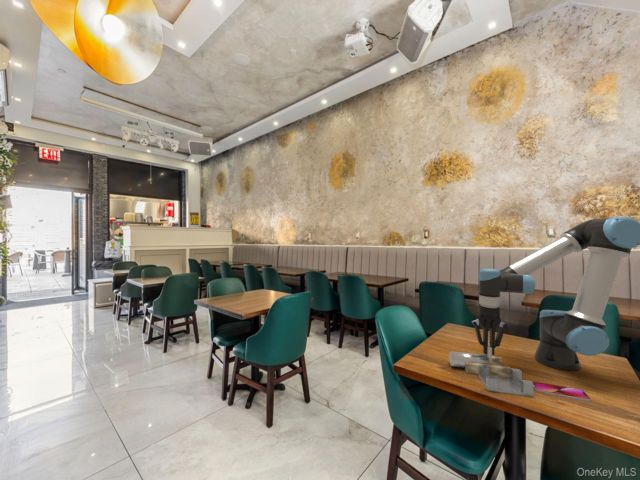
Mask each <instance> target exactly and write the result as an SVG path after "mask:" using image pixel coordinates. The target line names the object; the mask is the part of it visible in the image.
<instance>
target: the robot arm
mask: <svg viewBox="0 0 640 480" xmlns="http://www.w3.org/2000/svg"><path fill="white" fill-rule="evenodd" d="M638 246H640V221H639V220H637V219H635V218H632V217H629V216H610V217H603V218H593V219H589V220H586V221H583V222H581V223H579V224H577V225H576V226H574V227H571V228H570V229H568V230H566V231H564V232H562V233H561V234H560V235H559V238H557V239H555V240H553V241H552V242H550V243H548V244H546V245H544V246H542V247H541V248H539V249H537V250H535V251H533V252H532V253H530V254H528V255H526V256H524V257H522V258H520V259H519V260H517V261H515V262H513V263H511V264H510V265H508V266H506V267H503V268H502V269H497V268H482V269H479V273H478V274H479V277H478V282H479V283H478V287H479V289H478V290H479V293H478V304H479V306H478V316H477V319H475V320H474V319H473V320H471V323H472V325H473V326H474V330H475V334H476V338H477V342H478V344H479V345H481V346H483V347H482V352H483V354H484V355H487V356H488V358H489V363H491V364H492V356H495V349H496V347H500V346H501V342H502V339H503V336H504V334H505V330H506V329H507V327H508V324H507V323H505V322H504V321H502V319H501V317H500V316H501V308H500V306H501V293H511V294H522V295H525V294H532V293H534V291H535V290H536V281H535V279H534V277H533V276H532V275H533V274H535V273H536V272H538V271H540V270H543V269H544V268H546V267H547V266H549V265H552V264H553V263H555V262H557V261H559V260H561V259H562V258H564V257H567V256H569V255H570V254H572V253H579V252H582V251H584V250H586V249H588V252H590V255H589V257H588V259H587V260H588V261H587V263H586V267H585V269H584V273H583V276H582V278H581V282H580V285H579V288H578V291H577V294H576V297H575V300H574V302H573V305H572V309H570V310H568V311H567V310H565V311H564V310H555V309H542V310H541V311H540V312H539V317H538V318H539V344H537V345H538V346H537V348H536V350H535V352H534V359H535V361H537V362H538V363H540V364H543V365H545V366H547V367H550V368H553V369H557V370H564V371H579V370H580V368H581V361H580V358H579V357H578V355H577V354H580V355H583V356H586V357H587V356H590V357H592V356H593V357H594V356H596V355H597V356H598V355H600V354H603V353H604V352H605V351H606V350H607V348H608V347H609V345H610V338H609V336H608V334H607V333H606V332H605V328H606V326H607V324H606V323H605V321H604V320H603V317H604V313H605V311H606V307H607V304H608V302H609V299H610V296H611V293H612V290H613V286H614V285H615V284H614V283H615V281H616V278H617V275H618V272H619V270H620V267H621V266H620V265H621V262H622V260H623V259H624V258H627V257H629V256H630V255H631V252H632V249H633V248H636V247H638ZM479 325H481V326H482V334H481V329H480V327H479ZM498 326H499V327H498ZM496 328H498V330H497V333H496Z"/></svg>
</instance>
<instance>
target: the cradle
mask: <svg viewBox="0 0 640 480" xmlns="http://www.w3.org/2000/svg"><path fill="white" fill-rule="evenodd" d="M522 373H523V372H522V370H521V369H519V368H511V367H510V377H504V376H495V375H489V367H488V366H485V365H479V374H478V377H479V378H480V380H481V382H482V383H483V385H484V387H485V388H486V390H487V391H488V392H494V393H504V394H508V395H511V394H512V395H518V396H523V397H524V396H525V397H532V398H533V397H534V386H533V383H532V381H531V380H528V379H527V380H526V379H523V378H522V376H523V375H522Z"/></svg>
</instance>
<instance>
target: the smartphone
mask: <svg viewBox="0 0 640 480" xmlns="http://www.w3.org/2000/svg"><path fill="white" fill-rule="evenodd" d="M531 382H532V383H533V389H534V390H535V391H537V393H543V394H547V395H554V396H559V397H564V398H569V399H574V400H579V401H584V402H591V397H590V396H589V395H588V394H587V393H586V392H585V391H584V390H583V389H580V388H575V387H570V386H566V385H565V386H563V385H558V384H552V383H546V382H539V381H531Z"/></svg>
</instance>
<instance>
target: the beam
mask: <svg viewBox="0 0 640 480" xmlns="http://www.w3.org/2000/svg"><path fill="white" fill-rule="evenodd" d="M479 365H485V366H488V367H489V375H495V376H504V377H510V368H511V367H510V366H504V365H503V358H502V357H500V356H495V355H492V364H491V363H490V365H488V364H479V363H469V362H465V368H463V370H464V371H465V373H466V374H473V375H474V374H475V375H479Z"/></svg>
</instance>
